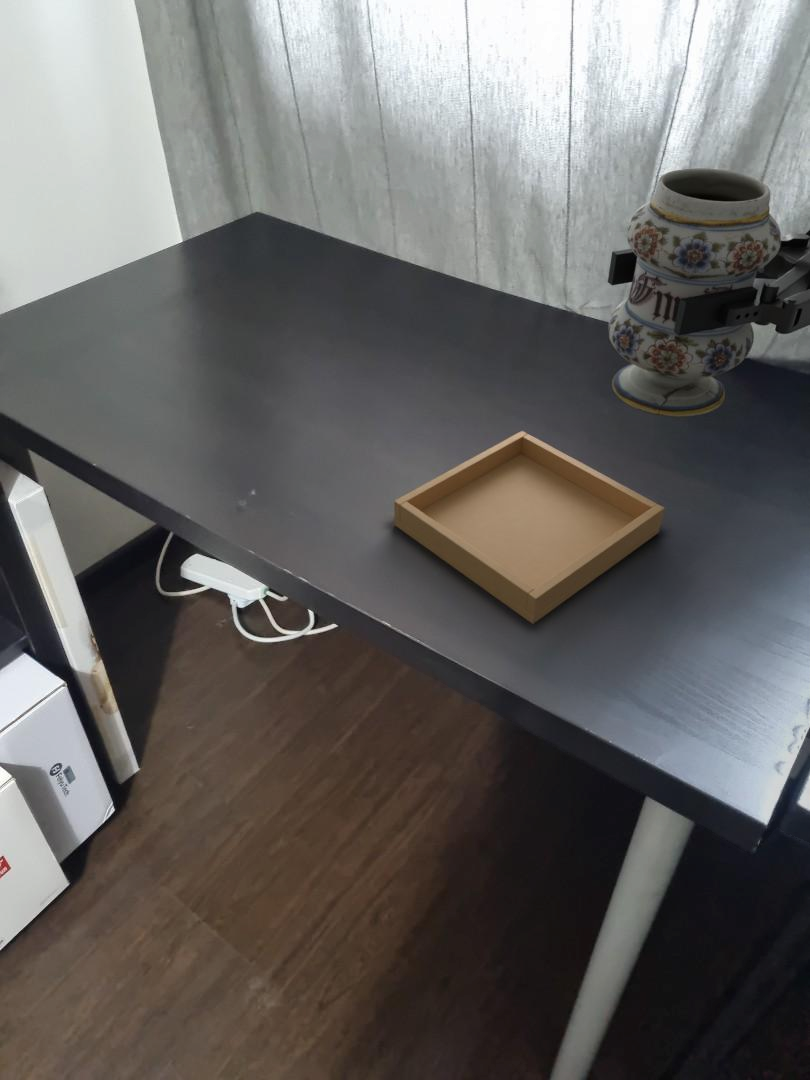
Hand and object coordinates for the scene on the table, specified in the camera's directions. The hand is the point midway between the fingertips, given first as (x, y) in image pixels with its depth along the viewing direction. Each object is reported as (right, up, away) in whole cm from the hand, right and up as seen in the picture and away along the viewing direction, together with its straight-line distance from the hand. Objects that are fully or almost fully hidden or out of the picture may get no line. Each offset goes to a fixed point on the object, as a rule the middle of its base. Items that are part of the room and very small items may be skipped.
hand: (644, 291), depth 67 cm
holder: (-9, -19, +6) cm, 22 cm away
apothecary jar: (+4, -7, +8) cm, 11 cm away
